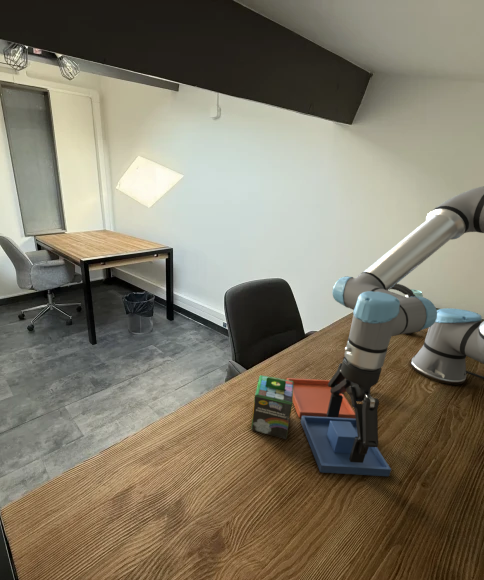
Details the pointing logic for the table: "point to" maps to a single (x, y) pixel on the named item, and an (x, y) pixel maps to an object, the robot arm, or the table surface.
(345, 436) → the blue block
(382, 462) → the blue tray
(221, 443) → the table surface
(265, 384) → the chalk box
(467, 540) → the table surface
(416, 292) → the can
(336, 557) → the table surface
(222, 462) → the table surface
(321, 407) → the terracotta tray
